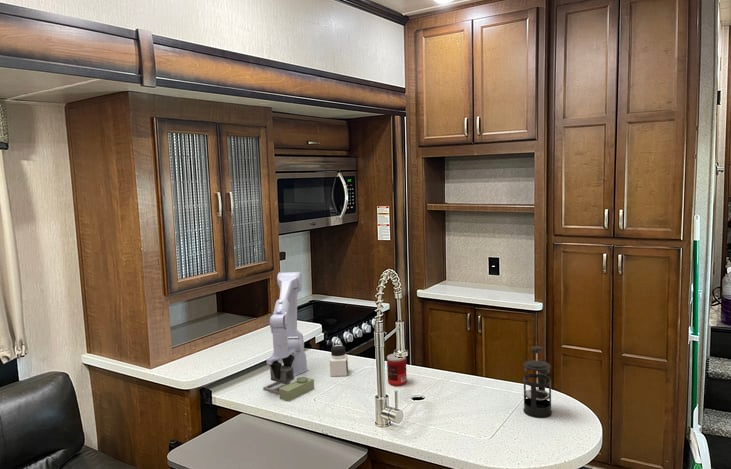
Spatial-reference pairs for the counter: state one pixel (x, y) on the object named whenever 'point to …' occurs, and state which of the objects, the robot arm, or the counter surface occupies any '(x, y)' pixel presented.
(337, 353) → the medicine bottle
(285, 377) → the chute
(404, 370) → the canned food
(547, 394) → the french press
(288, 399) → the grey frame stand
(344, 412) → the counter surface
